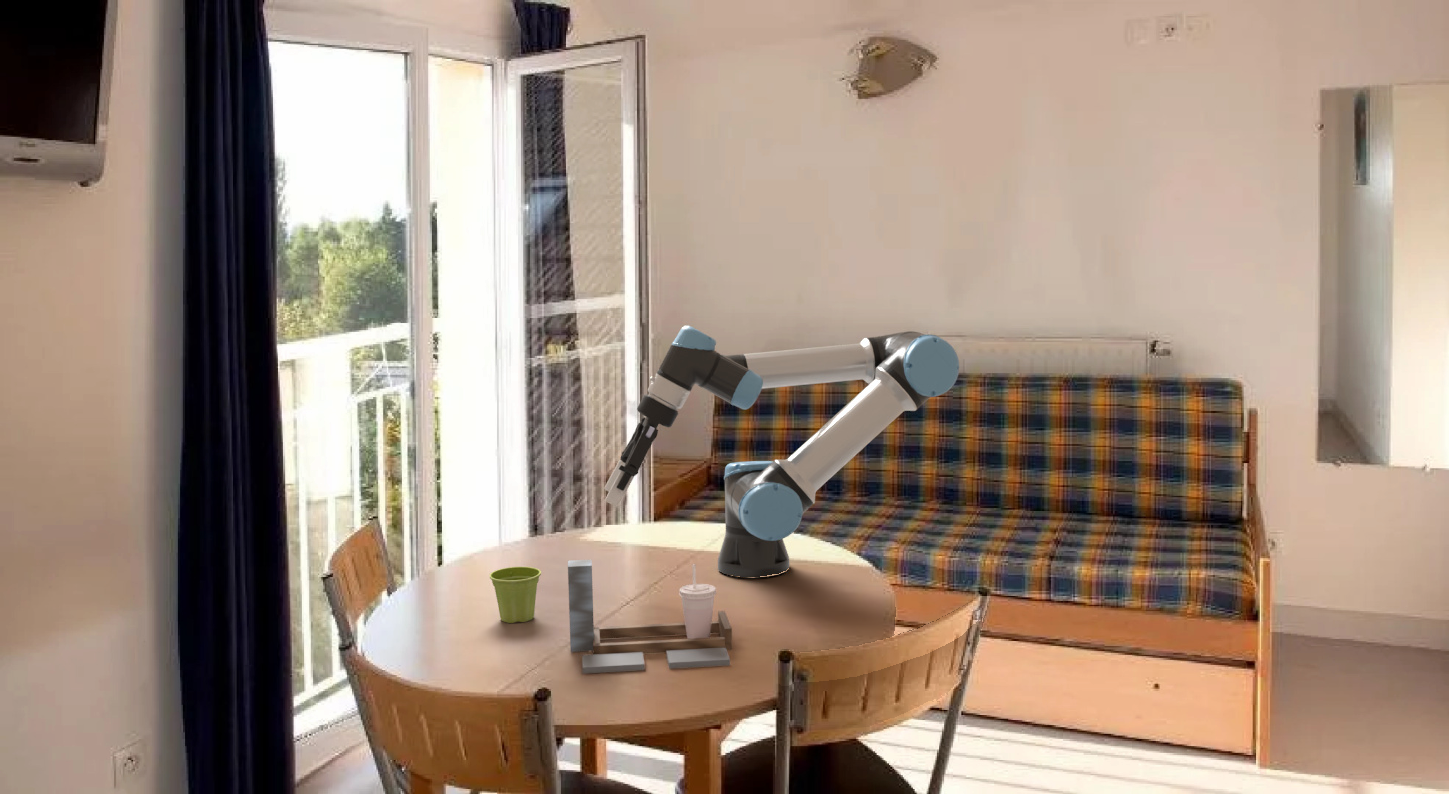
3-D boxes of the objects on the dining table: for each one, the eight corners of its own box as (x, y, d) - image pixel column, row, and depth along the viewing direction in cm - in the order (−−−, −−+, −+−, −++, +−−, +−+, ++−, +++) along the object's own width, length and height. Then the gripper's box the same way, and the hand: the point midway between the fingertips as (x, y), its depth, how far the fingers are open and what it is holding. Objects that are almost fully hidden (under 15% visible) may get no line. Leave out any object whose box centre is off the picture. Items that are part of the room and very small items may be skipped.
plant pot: (519, 629, 220) (517, 583, 219) (480, 621, 225) (478, 576, 224) (553, 615, 228) (551, 570, 227) (514, 608, 233) (513, 564, 232)
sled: (725, 630, 217) (723, 549, 215) (732, 649, 207) (730, 564, 206) (570, 638, 214) (568, 556, 212) (570, 657, 204) (567, 571, 202)
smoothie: (679, 637, 215) (677, 560, 213) (715, 636, 215) (714, 558, 213) (681, 649, 208) (679, 569, 207) (718, 648, 209) (717, 568, 207)
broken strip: (725, 653, 206) (725, 647, 206) (730, 665, 200) (729, 659, 200) (582, 660, 204) (582, 655, 204) (582, 673, 198) (582, 667, 198)
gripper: (643, 387, 248) (593, 478, 249) (648, 398, 224) (593, 499, 224) (675, 404, 249) (625, 495, 250) (684, 417, 225) (629, 518, 225)
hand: (610, 498), depth 237 cm, fingers open, 13 cm apart
